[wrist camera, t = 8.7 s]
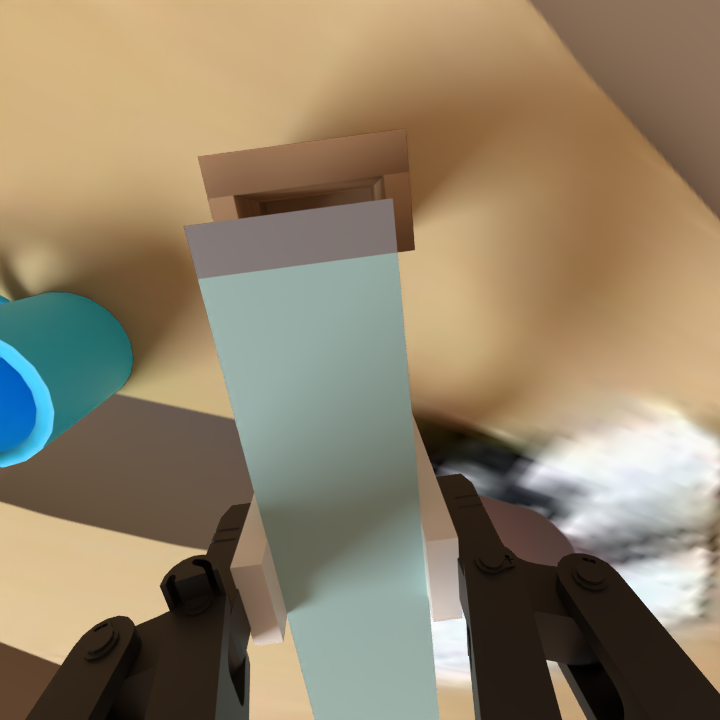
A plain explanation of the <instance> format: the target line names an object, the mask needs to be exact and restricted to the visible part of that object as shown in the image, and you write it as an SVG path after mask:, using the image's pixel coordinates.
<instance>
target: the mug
mask: <svg viewBox="0 0 720 720" xmlns="http://www.w3.org/2000/svg"><path fill="white" fill-rule="evenodd" d="M132 363H133V354H132V348H131V343H130V340H129V338H128V336H127V335H126V333H125V331H124V329H123V327H122V325H121V324H120V323H119V322H118V321H117V320H116V319H115V318H114V316H113V315H112V314H111V313H110V312H109V311H108V310H107V309H105V308H103V307H102V306H100V305H99V304H97V303H95V302H94V301H92V300H91V299H89V298H85V297H82V296H79V295H76V294H73V293H68V292H48V293H44V294H40V295H36V296H32V297H28V298H24V299H20V300H16V301H12V302H11V301H9V300H8V299H6V298H5V297H3V296H1V295H0V467H6V466H9V465H13V464H16V463H20V462H23V461H26V460H27V459H29V458H30V457H32V456H33V455H35V454H36V453H37V452H39V451H40V450H42V449H43V448H44V447H45V446H47V445H48V444H49V443H51V442H52V441H53V440H55V439H56V438H57V437H58V436H60V435H61V434H62V433H63V432H65V431H66V430H68V429H69V428H70V427H71V426H73V425H74V424H75V423H77V422H78V421H79V420H81V419H82V418H83V417H84V416H86V415H87V414H88V413H90V412H91V411H92V410H93V409H95V408H96V407H97V406H99V405H100V404H101V403H102V402H104V401H105V400H106V399H108V398H109V397H110V396H112V395H113V394H114V393H116V392H117V391H118V390H119V389H121V388H122V387H123V386H124V384H125V382H126V381H127V379H128V378H129V376H130V374H131V369H132Z"/></svg>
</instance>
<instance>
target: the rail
mask: <svg viewBox="0 0 720 720" xmlns="http://www.w3.org/2000/svg"><path fill="white" fill-rule="evenodd" d="M184 229H185V233H186V237H187V241H188V244H189V248H190V252H191V256H192V259H193V263H194V267H195V271H196V274H197V278H198V282H199V286H200V289H201V293H202V297H203V301H204V305H205V308H206V312H207V316H208V320H209V323H210V327H211V331H212V335H213V338H214V342H215V346H216V350H217V354H218V357H219V361H220V365H221V369H222V372H223V376H224V380H225V384H226V387H227V391H228V395H229V399H230V402H231V406H232V410H233V414H234V418H235V421H236V425H237V429H238V432H239V436H240V440H241V444H242V448H243V451H244V455H245V459H246V463H247V466H248V470H249V474H250V478H251V482H252V485H253V488H254V493H255V497H256V500H257V504H258V508H259V512H260V515H261V519H262V523H263V527H264V530H265V534H266V538H267V540H268V543H269V547H270V551H271V555H272V558H273V562H274V566H275V570H276V573H277V577H278V581H279V585H280V588H281V592H282V596H283V600H284V603H285V607H286V611H287V617H288V621H289V625H290V628H291V632H292V636H293V640H294V643H295V647H296V651H297V655H298V659H299V662H300V666H301V670H302V674H303V677H304V681H305V685H306V689H307V692H308V696H309V700H310V704H311V707H312V711H313V715H314V719H315V720H439V711H438V700H437V688H436V677H435V666H434V655H433V644H432V632H431V621H430V610H429V599H428V595H427V584H426V573H425V563H424V552H423V541H422V530H421V519H420V518H421V509H420V498H419V487H418V476H417V465H416V454H415V442H414V431H413V420H412V409H411V398H410V386H409V375H408V364H407V353H406V342H405V331H404V319H403V308H402V297H401V286H400V275H399V263H398V252H397V241H396V230H395V219H394V207H393V198H391V199H384V200H376V201H369V202H361V203H354V204H346V205H339V206H331V207H324V208H316V209H309V210H301V211H294V212H286V213H279V214H271V215H264V216H257V217H249V218H242V219H234V220H227V221H219V222H212V223H204V224H197V225H189V226H184Z"/></svg>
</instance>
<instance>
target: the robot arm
mask: <svg viewBox="0 0 720 720" xmlns="http://www.w3.org/2000/svg"><path fill="white" fill-rule="evenodd" d="M412 420H413V431H414V442H415V454H416V465H417V476H418V487H419V498H420V509H421V518H420V519H421V530H422V541H423V552H424V563H425V573H426V584H427V595H428V599H429V604H430V608H431V612H432V617H433V621H434V622H435V621H443V620H450V619H458V618H462V609H463V612H464V616H465V619H466V624H467V646H468V656H469V660H470V671H471V681H472V691H473V701H474V711H475V720H562V717H561V714H560V710H559V706H558V703H557V699H556V695H555V692H554V688H553V684H552V680H551V677H550V673H549V669H548V666H547V662H546V660H550V661H555V662H557V663H558V665H559V667H560V669H561V671H562V673H563V675H564V676H565V678H566V680H567V682H568V684H569V686H570V688H571V690H572V692H573V694H574V695H575V697H576V699H577V701H578V703H579V705H580V707H581V709H582V711H583V713H584V714H585V716H586V718H587V720H720V694H719V693H718V691H717V690H716V689H715V688H714V687H713V685H712V684H711V683H710V682H709V681H708V679H707V678H706V677H705V676H704V675H703V674H702V672H701V671H700V670H699V669H698V668H697V666H696V665H695V664H694V663H693V662H692V660H691V659H690V658H689V657H688V656H687V654H686V653H685V652H684V651H683V650H682V648H681V647H680V646H679V645H678V644H677V642H676V641H675V640H674V639H673V638H672V636H671V635H670V634H669V633H668V632H667V631H666V629H665V628H664V627H663V626H662V625H661V623H660V622H659V621H658V620H657V619H656V617H655V616H654V615H653V614H652V613H651V611H650V610H649V609H648V608H647V607H646V605H645V604H644V603H643V602H642V601H641V599H640V598H639V597H638V596H637V595H636V594H635V592H634V591H633V590H632V589H631V588H630V586H629V585H628V584H627V583H626V582H625V580H624V579H623V578H622V577H621V576H620V574H619V573H618V572H617V571H616V570H615V569H614V568H612V567H611V566H610V565H609V564H608V563H606V562H605V561H603V560H601V559H599V558H597V557H595V556H591V555H587V554H583V553H574V554H569V555H567V556H564V557H563V558H562V559H561V560H560V561H559V562H558V567H555V566H547V565H541V564H535V563H531V562H527V561H524V560H522V559H520V558H518V557H516V555H515V554H514V553H513V552H512V551H511V550H509V549H508V548H507V547H505V546H504V545H503V543H502V542H501V540H500V538H499V536H498V534H497V532H496V530H495V528H494V526H493V524H492V522H491V520H490V518H489V516H488V514H487V512H486V510H485V508H484V506H483V504H482V502H481V500H480V498H479V497H478V494H477V492H476V490H475V488H474V486H473V484H472V482H470V481H469V480H468V479H467V478H465V477H464V476H463V475H462V474H454V475H447V476H439V477H435V474H434V471H433V468H432V466H431V463H430V460H429V458H428V455H427V452H426V449H425V447H424V444H423V441H422V439H421V436H420V433H419V430H418V428H417V425H416V422H415V420H414V417H413V414H412ZM160 588H161V590H162V593H163V595H164V597H165V600H166V602H167V605H168V607H169V610H170V611H168V612H166V613H164V614H162V615H160V616H158V617H156V618H153V619H151V620H149V621H146V622H144V623H141V624H139V625H137V626H135V625H134V623H133V621H132V620H131V619H130V618H129V617H125V616H116V617H112V618H109V619H106V620H104V621H102V622H101V623H99V624H97V625H95V626H94V627H93V628H91V629H90V630H89V631H88V632H87V633H85V634H84V635H83V636H82V637H81V639H80V640H79V641H78V642H77V643H76V645H75V646H74V647H73V649H72V650H71V652H70V653H69V655H68V656H67V658H66V659H65V661H64V662H63V664H62V665H61V667H60V668H59V670H58V671H57V673H56V674H55V676H54V677H53V679H52V680H51V682H50V683H49V685H48V686H47V688H46V689H45V691H44V692H43V694H42V695H41V697H40V698H39V700H38V701H37V703H36V704H35V706H34V707H33V709H32V710H31V712H30V713H29V715H28V716H27V718H26V719H25V720H249V691H250V662H249V657H248V654H247V651H246V649H247V645H248V640H249V636H250V632H251V635H252V639H253V642H254V645H255V646H257V645H264V644H272V643H279V642H283V640H284V633H285V626H286V619H287V611H286V607H285V603H284V600H283V596H282V592H281V588H280V585H279V581H278V577H277V573H276V570H275V566H274V562H273V558H272V555H271V551H270V547H269V543H268V540H267V538H266V534H265V530H264V527H263V523H262V519H261V515H260V512H259V508H258V504H257V500H256V497H255V493H254V496H253V499H252V502H251V503H247V504H239V505H233V506H231V507H230V508H229V510H228V511H227V512H226V513H225V514H224V515H223V516H222V518H221V520H220V522H219V524H218V527H217V530H216V533H215V535H214V537H213V539H212V544H210V547H209V549H208V551H207V554H206V555H197V556H192V557H190V558H188V559H185V560H183V561H181V562H180V563H179V564H177V565H176V566H174V567H173V568H172V569H171V570H170V571H169V572H168V573H167V574H166V575H165V577H164V579H163V581H162V583H161V585H160Z"/></svg>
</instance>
